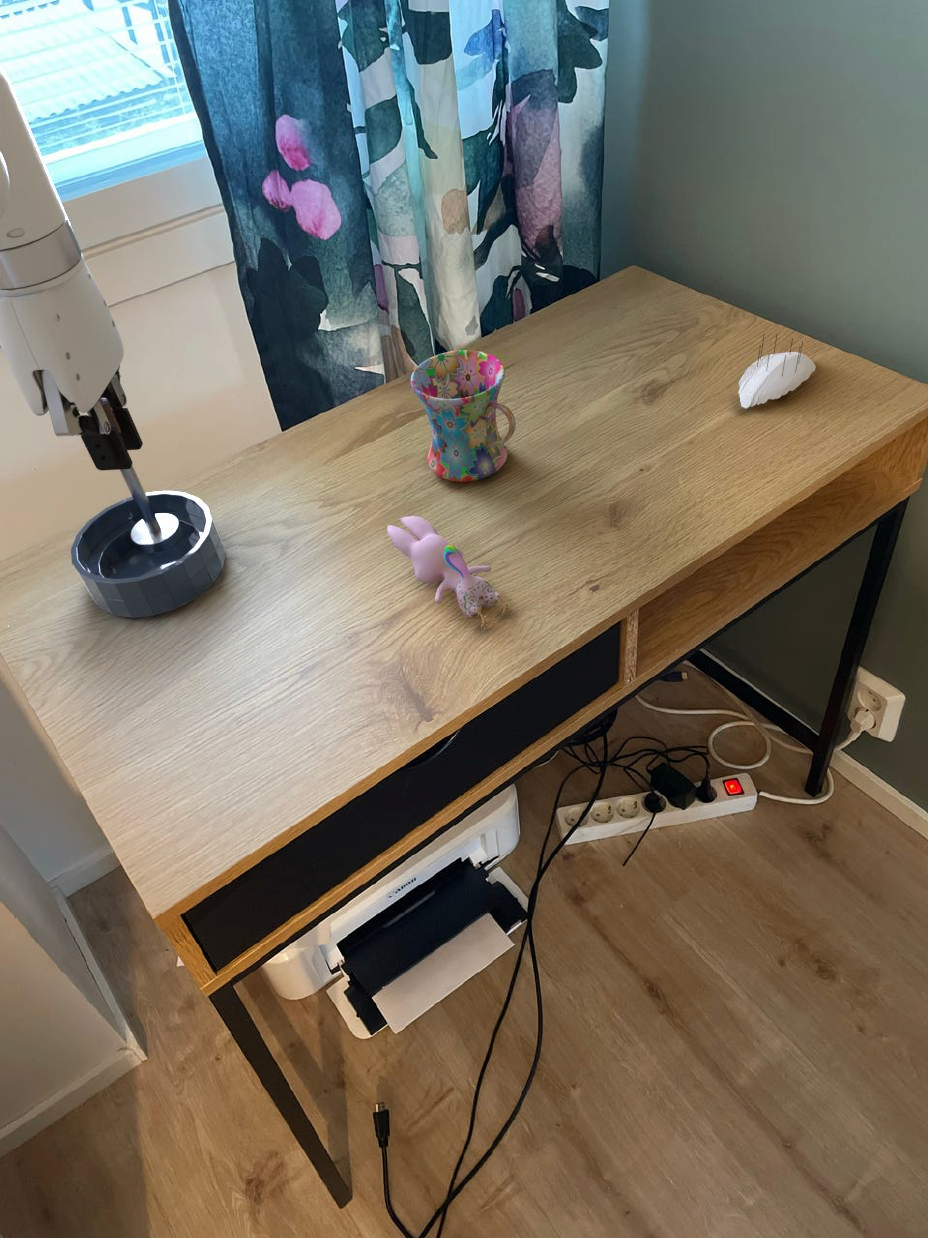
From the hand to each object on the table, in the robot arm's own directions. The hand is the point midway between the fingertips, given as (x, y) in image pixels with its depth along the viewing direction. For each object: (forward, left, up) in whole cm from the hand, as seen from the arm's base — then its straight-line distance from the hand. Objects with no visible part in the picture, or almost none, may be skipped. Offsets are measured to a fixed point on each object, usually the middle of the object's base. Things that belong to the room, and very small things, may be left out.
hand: (120, 456), depth 79 cm
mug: (+27, -19, -13) cm, 35 cm away
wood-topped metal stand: (0, 0, -10) cm, 10 cm away
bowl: (-1, 0, -13) cm, 13 cm away
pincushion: (+54, -41, -13) cm, 69 cm away
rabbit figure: (+11, -26, -13) cm, 31 cm away
